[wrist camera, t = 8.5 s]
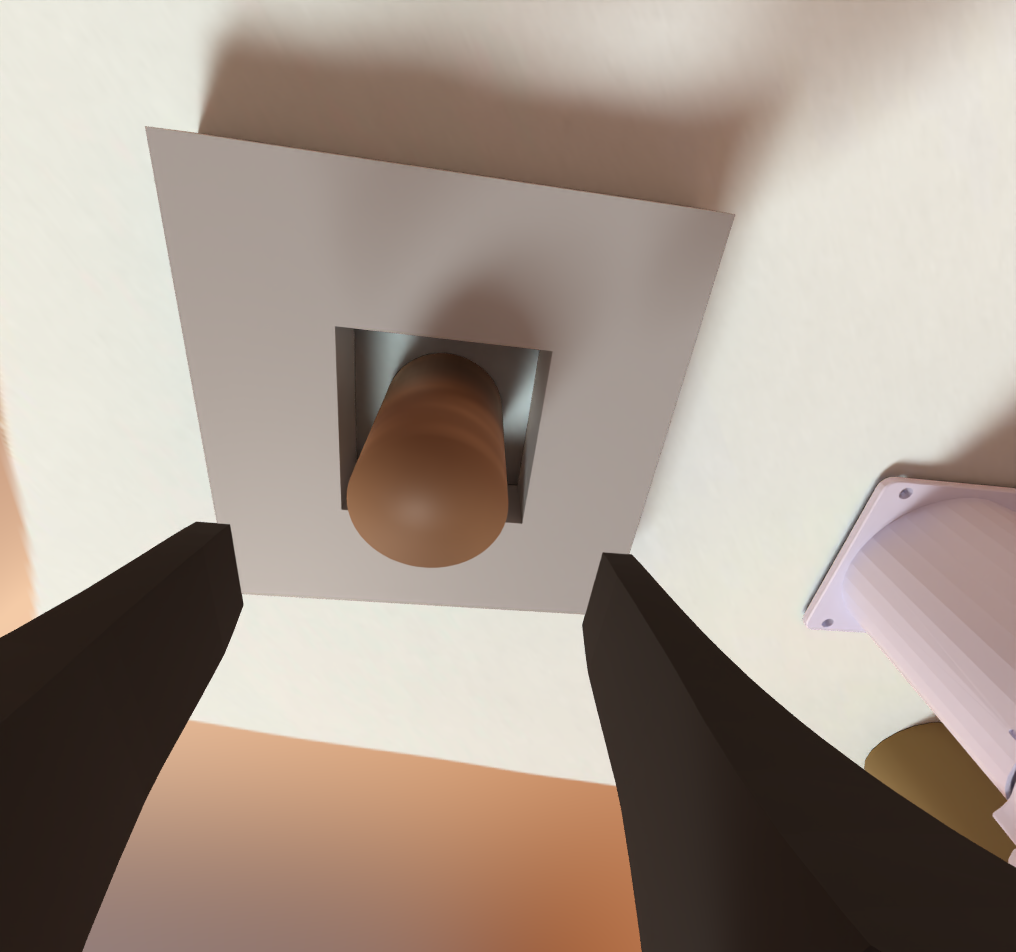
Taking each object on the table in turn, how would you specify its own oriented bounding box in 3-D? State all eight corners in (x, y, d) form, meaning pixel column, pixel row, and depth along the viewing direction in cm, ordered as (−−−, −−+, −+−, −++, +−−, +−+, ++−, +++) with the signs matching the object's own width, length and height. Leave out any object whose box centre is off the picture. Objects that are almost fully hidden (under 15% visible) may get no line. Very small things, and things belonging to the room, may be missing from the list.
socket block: (699, 208, 15) (735, 214, 13) (597, 572, 22) (609, 615, 20) (196, 132, 14) (144, 126, 12) (255, 549, 21) (229, 593, 19)
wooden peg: (506, 357, 17) (515, 439, 12) (496, 462, 19) (501, 571, 14) (384, 348, 17) (341, 428, 12) (387, 455, 19) (351, 564, 14)
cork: (900, 718, 29) (1107, 987, 19) (993, 725, 30) (1236, 988, 20) (845, 780, 32) (1001, 1040, 22) (931, 785, 33) (1117, 1038, 23)
